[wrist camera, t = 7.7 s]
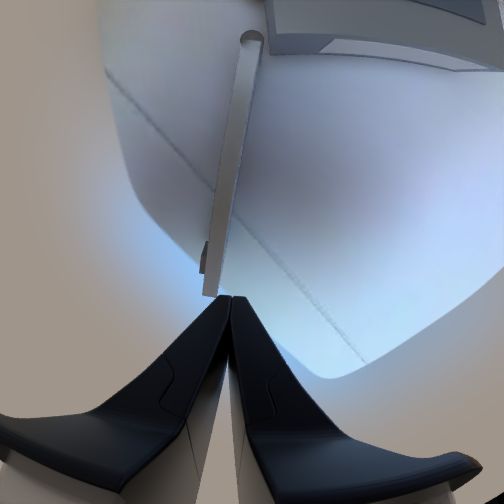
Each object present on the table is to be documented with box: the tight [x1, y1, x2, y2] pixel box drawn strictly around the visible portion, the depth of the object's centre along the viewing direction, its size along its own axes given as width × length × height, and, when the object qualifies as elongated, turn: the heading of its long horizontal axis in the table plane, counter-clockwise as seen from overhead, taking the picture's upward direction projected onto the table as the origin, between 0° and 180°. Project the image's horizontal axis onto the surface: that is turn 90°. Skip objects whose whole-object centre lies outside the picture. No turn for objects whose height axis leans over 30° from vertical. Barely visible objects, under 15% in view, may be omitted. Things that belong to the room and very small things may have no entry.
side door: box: [199, 30, 264, 298], centre depth 16 cm, size 14×1×6 cm, turn 170°
